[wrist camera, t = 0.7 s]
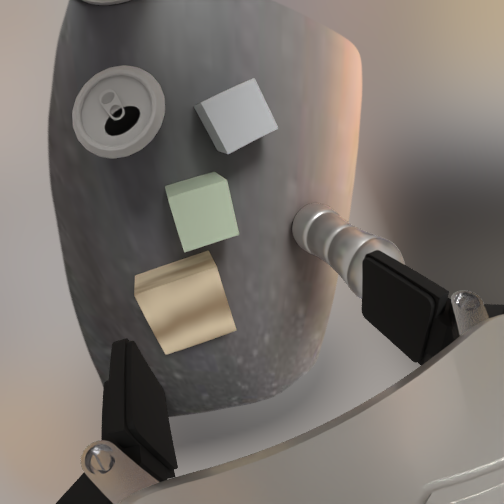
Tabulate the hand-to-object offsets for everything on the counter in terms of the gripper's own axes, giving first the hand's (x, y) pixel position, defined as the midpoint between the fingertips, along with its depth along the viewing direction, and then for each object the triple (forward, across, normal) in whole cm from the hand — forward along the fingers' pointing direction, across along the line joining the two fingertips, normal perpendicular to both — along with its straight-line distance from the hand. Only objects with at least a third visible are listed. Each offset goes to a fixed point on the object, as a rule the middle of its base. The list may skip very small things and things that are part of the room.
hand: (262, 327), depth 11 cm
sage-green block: (+26, -1, +1) cm, 26 cm away
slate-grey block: (+25, -7, -8) cm, 27 cm away
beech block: (+26, +4, +12) cm, 29 cm away
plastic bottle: (+26, -15, +8) cm, 31 cm away
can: (+25, +4, -11) cm, 28 cm away
